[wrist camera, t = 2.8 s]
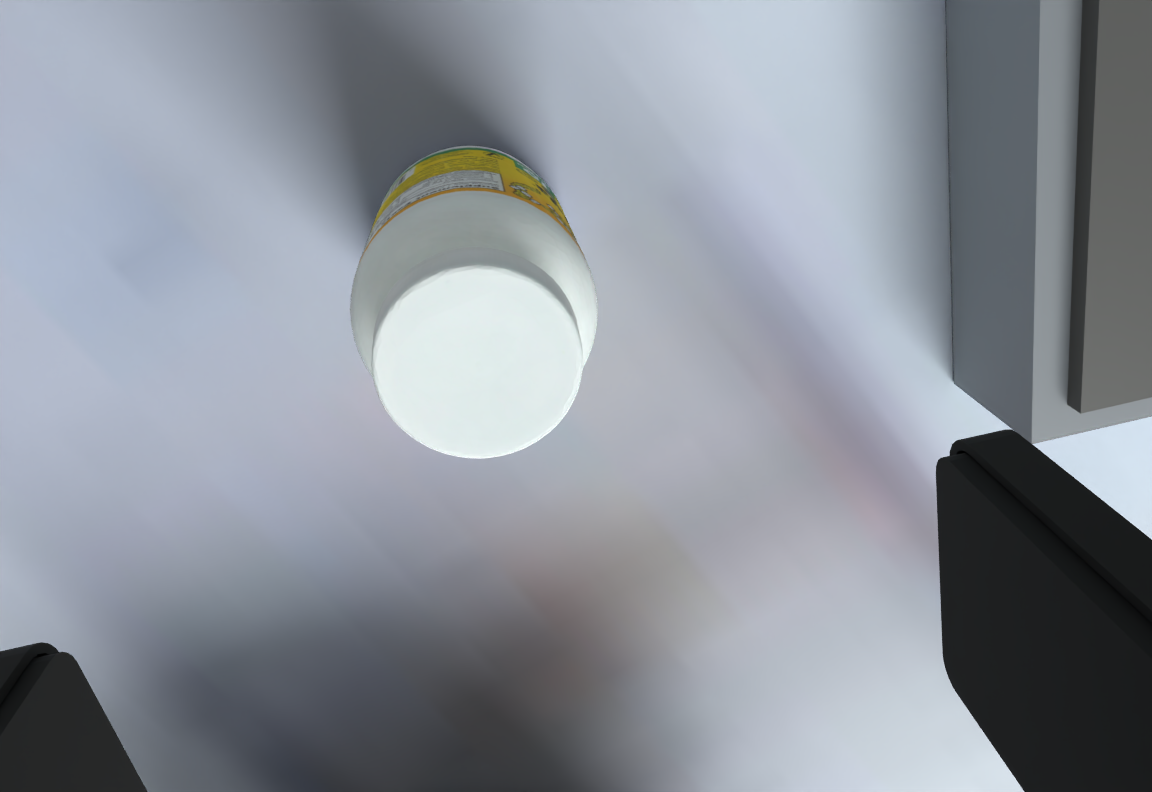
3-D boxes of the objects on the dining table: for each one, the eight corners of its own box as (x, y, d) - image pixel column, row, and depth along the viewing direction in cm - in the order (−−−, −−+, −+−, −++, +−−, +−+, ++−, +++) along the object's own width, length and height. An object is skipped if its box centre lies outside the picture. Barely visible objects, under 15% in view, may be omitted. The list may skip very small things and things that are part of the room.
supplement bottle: (354, 163, 24) (292, 253, 16) (548, 125, 25) (594, 194, 16) (404, 345, 27) (374, 514, 18) (581, 310, 27) (637, 459, 18)
